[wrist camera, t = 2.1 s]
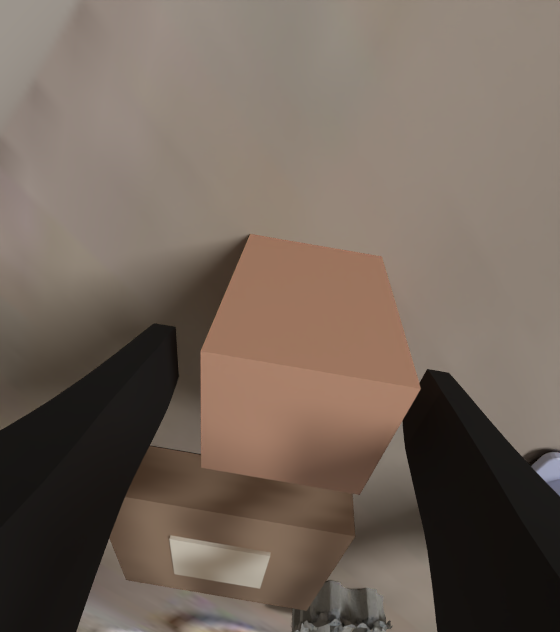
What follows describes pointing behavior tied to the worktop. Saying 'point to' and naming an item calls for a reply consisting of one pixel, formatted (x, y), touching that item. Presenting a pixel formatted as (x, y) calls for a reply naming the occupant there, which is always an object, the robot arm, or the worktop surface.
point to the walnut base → (229, 532)
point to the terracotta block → (304, 367)
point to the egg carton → (342, 611)
